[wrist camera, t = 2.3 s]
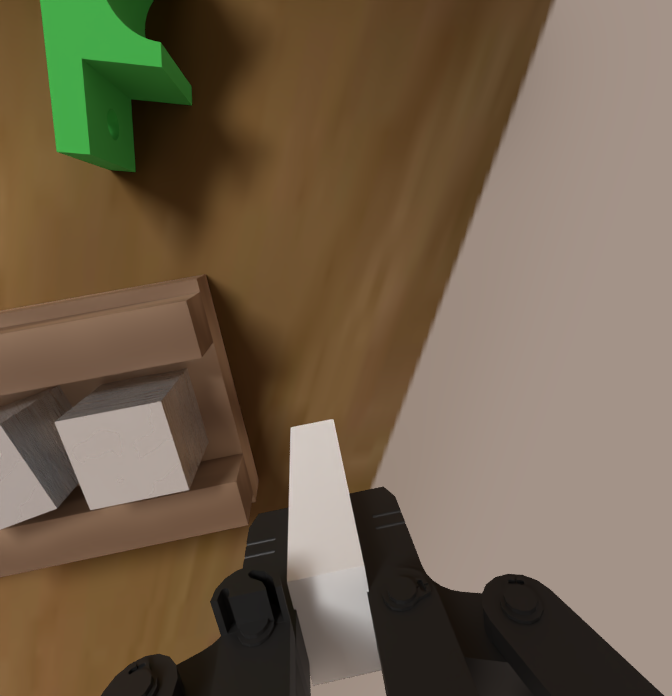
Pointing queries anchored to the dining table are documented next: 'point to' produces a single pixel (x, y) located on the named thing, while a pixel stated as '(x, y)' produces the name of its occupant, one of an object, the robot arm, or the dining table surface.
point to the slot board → (115, 365)
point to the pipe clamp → (104, 76)
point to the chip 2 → (135, 438)
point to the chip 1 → (33, 457)
